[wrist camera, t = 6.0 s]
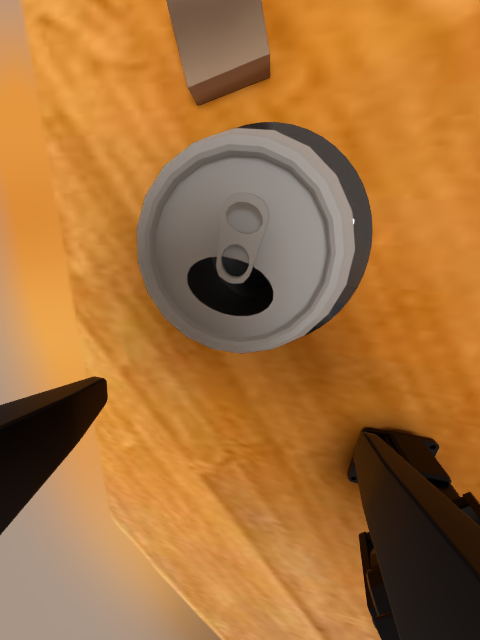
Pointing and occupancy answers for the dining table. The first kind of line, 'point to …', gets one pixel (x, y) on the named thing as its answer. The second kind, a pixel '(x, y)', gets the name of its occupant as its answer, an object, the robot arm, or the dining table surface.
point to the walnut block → (220, 45)
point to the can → (245, 240)
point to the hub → (353, 194)
